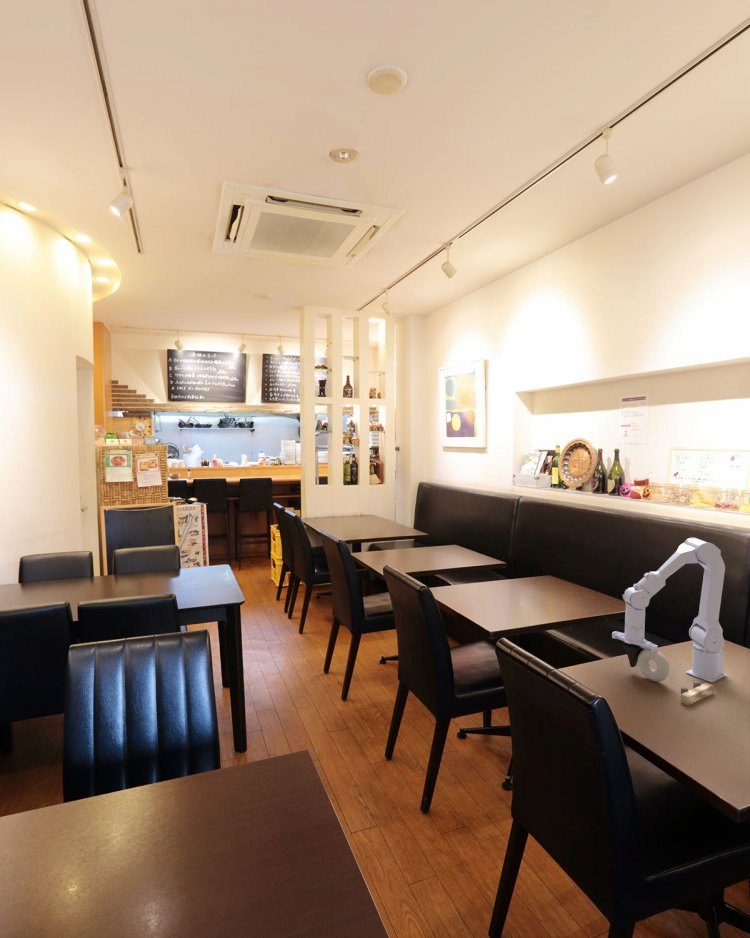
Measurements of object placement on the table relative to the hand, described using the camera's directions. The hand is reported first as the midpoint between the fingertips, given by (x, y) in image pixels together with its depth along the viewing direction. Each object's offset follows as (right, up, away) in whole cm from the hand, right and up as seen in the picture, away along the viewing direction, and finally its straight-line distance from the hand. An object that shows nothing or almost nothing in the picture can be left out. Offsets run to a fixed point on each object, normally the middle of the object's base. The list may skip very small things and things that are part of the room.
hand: (633, 666), depth 170 cm
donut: (+3, -3, -5) cm, 7 cm away
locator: (+10, -3, -16) cm, 19 cm away
